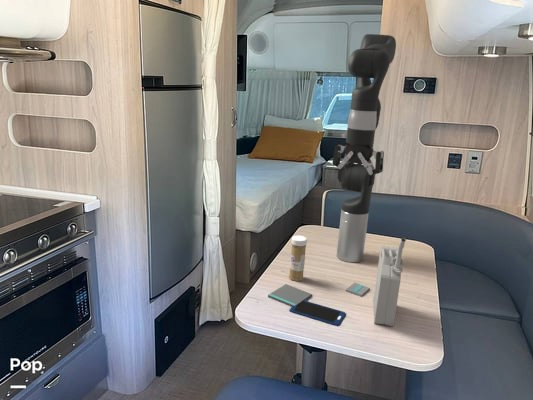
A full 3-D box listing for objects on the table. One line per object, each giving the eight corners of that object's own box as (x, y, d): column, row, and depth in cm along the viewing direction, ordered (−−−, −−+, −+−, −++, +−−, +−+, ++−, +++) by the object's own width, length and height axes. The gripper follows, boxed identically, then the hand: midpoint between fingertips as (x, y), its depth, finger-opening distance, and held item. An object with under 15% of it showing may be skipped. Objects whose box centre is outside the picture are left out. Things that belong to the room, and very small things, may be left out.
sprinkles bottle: (285, 278, 135) (288, 237, 131) (294, 273, 138) (297, 233, 134) (298, 283, 132) (301, 241, 128) (306, 278, 136) (310, 237, 132)
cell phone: (338, 328, 110) (338, 325, 110) (288, 312, 116) (288, 310, 116) (346, 314, 116) (346, 312, 116) (298, 300, 122) (298, 298, 122)
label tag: (354, 284, 133) (354, 282, 133) (369, 289, 131) (369, 287, 130) (345, 290, 129) (345, 289, 129) (361, 296, 126) (361, 294, 126)
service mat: (285, 285, 130) (285, 283, 130) (311, 295, 125) (311, 293, 125) (267, 296, 123) (268, 294, 123) (294, 307, 118) (294, 305, 118)
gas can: (394, 333, 109) (409, 239, 102) (374, 329, 110) (387, 237, 103) (391, 303, 123) (404, 219, 116) (373, 300, 124) (384, 217, 117)
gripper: (391, 129, 118) (383, 186, 123) (344, 123, 126) (338, 177, 130) (380, 131, 112) (373, 191, 117) (331, 125, 120) (326, 181, 125)
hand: (354, 184), depth 124 cm, fingers open, 8 cm apart
